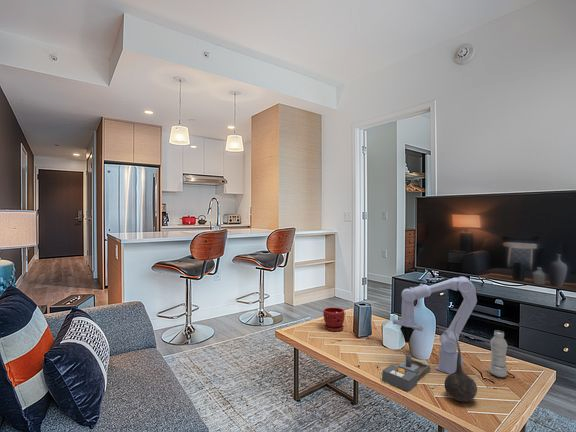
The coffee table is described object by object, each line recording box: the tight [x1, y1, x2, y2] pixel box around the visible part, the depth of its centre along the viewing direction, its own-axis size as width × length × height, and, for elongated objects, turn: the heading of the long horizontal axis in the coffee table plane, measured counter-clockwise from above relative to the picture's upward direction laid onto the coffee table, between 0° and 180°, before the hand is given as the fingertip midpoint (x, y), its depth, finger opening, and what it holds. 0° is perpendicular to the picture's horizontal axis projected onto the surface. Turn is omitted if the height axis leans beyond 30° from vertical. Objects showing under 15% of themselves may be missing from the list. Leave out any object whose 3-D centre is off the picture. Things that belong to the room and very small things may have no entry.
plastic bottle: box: [489, 329, 508, 378], centre depth 147 cm, size 6×7×20 cm
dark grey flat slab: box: [411, 359, 431, 383], centre depth 149 cm, size 10×16×2 cm, turn 134°
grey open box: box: [381, 364, 418, 392], centre depth 140 cm, size 12×8×5 cm, turn 44°
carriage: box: [397, 353, 419, 374], centre depth 146 cm, size 7×6×8 cm
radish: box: [444, 321, 478, 403], centre depth 129 cm, size 11×14×30 cm
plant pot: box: [322, 307, 345, 332], centre depth 204 cm, size 13×13×12 cm
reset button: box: [398, 368, 405, 374], centre depth 141 cm, size 3×3×4 cm
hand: (407, 342), depth 158 cm, fingers closed
